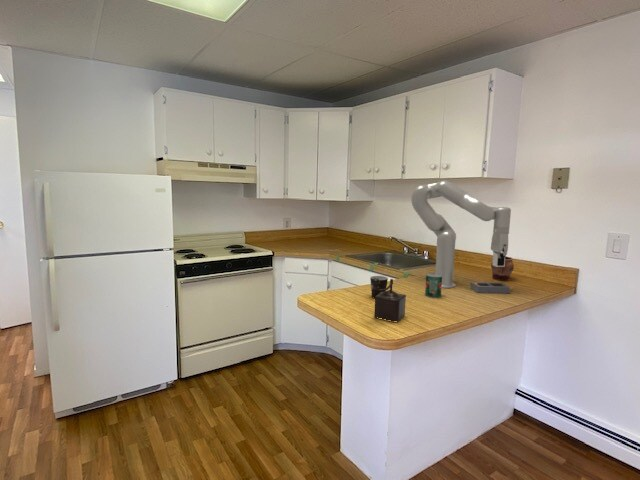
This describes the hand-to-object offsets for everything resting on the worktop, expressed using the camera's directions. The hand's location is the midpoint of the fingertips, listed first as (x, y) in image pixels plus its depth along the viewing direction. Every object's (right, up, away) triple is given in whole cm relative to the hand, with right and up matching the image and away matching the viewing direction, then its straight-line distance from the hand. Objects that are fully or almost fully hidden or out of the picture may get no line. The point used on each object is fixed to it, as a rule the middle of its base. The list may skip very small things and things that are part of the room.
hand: (498, 264), depth 192 cm
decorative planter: (+15, -11, +28) cm, 34 cm away
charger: (0, -1, 0) cm, 1 cm away
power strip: (-4, -14, +6) cm, 16 cm away
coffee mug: (-66, -16, -10) cm, 68 cm away
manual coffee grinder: (-67, -20, -41) cm, 81 cm away
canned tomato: (-37, -16, -8) cm, 41 cm away
